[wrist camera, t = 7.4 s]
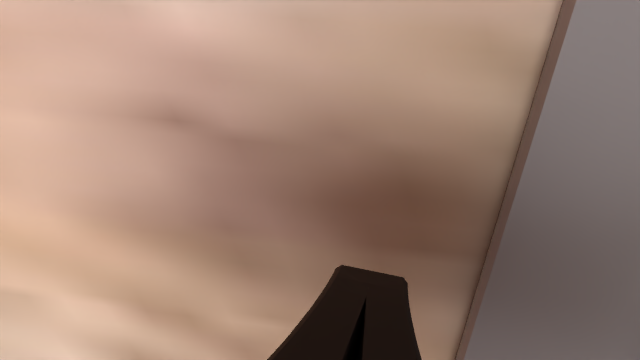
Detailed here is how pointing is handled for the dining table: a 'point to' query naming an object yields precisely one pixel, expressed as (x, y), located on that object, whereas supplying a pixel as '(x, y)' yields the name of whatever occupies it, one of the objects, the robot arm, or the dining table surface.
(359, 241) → the dining table surface
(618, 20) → the base board
